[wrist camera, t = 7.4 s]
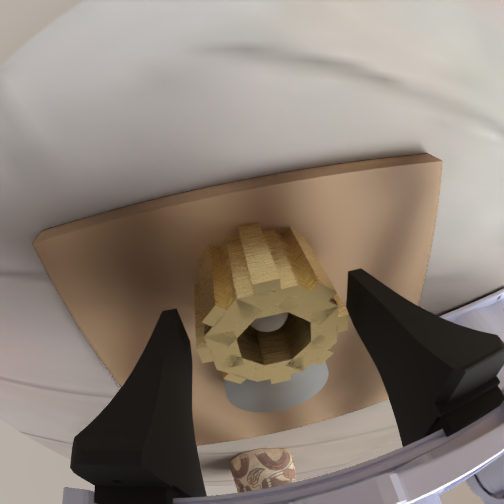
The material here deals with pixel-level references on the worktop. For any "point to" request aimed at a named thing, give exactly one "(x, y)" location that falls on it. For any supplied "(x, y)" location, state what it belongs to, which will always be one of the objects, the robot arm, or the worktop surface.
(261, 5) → the worktop surface
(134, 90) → the worktop surface
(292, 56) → the worktop surface
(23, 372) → the worktop surface
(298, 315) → the brass gear
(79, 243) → the carrier plate
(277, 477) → the figurine
